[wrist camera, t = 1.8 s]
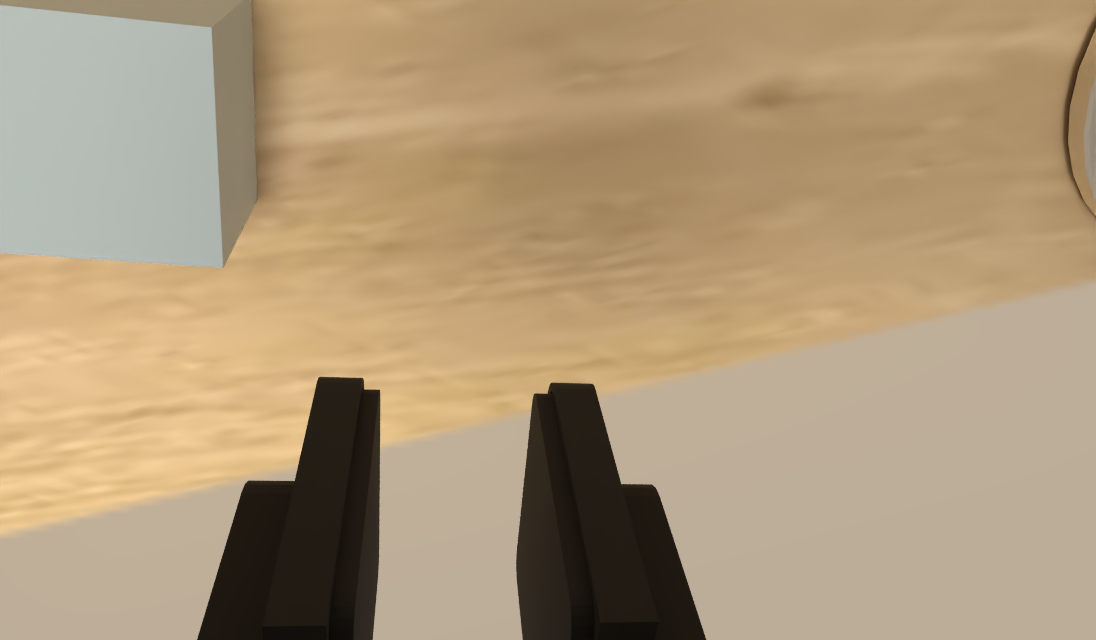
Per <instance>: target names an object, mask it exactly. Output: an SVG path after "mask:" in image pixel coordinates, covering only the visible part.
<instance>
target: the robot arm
mask: <svg viewBox="0 0 1096 640" xmlns="http://www.w3.org/2000/svg"><path fill="white" fill-rule="evenodd" d="M1068 145H1069V152H1070V158H1071V165H1072V171H1073V176H1074V178H1075V180H1076V183H1077V185H1078V188H1079V190H1080V192H1081V195H1082V197H1083V200H1084V202H1085V203H1086V204H1087V206H1088V207H1089V208H1090V210H1091V211H1092V212H1093V214H1094V215H1095V216H1096V29H1095V32H1094V34H1093V36H1092V39H1091V41H1090V44H1089V46H1088V48H1087V51H1086V53H1085V56H1084V58H1083V60H1082V63H1081V65H1080V68H1079V71H1078V75H1077V80H1076V84H1075V88H1074V92H1073V96H1072V100H1071V105H1070V116H1069V134H1068ZM379 479H380V390H364V380H363V378H340V377H319V378H318V381H317V385H316V389H315V394H314V398H313V403H312V407H311V412H310V416H309V420H308V425H307V429H306V434H305V438H304V443H303V447H302V451H301V456H300V460H299V465H298V469H297V474H296V478H295V481H248V482H247V483H246V484H245V485H244V488H243V491H242V493H241V496H240V500H239V503H238V506H237V510H236V513H235V516H234V520H233V523H232V526H231V530H230V533H229V536H228V539H227V543H226V546H225V550H224V553H223V556H222V559H221V562H220V566H219V569H218V572H217V576H216V579H215V582H214V586H213V589H212V593H211V596H210V599H209V602H208V606H207V609H206V612H205V616H204V619H203V622H202V626H201V629H200V632H199V635H198V639H197V640H372V639H373V628H374V616H375V604H376V593H377V582H378V581H377V580H378V566H379V490H380V487H379V485H380V480H379ZM516 561H517V562H516V569H517V570H516V571H517V585H518V596H519V606H520V616H521V626H522V635H523V640H706V638H705V635H704V632H703V628H702V626H701V623H700V619H699V616H698V613H697V610H696V607H695V604H694V601H693V598H692V595H691V592H690V588H689V585H688V582H687V579H686V576H685V573H684V570H683V567H682V564H681V561H680V558H679V555H678V552H677V549H676V546H675V543H674V539H673V536H672V533H671V530H670V527H669V524H668V521H667V518H666V515H665V511H664V509H663V505H662V502H661V499H660V496H659V494H658V492H657V490H656V488H655V487H654V486H653V485H643V484H641V485H640V484H639V485H638V484H632V485H631V484H621V482H620V478H619V474H618V471H617V467H616V463H615V460H614V456H613V452H612V449H611V445H610V441H609V438H608V434H607V431H606V427H605V423H604V419H603V416H602V412H601V408H600V405H599V401H598V397H597V394H596V390H595V387H594V385H593V384H579V383H551V384H550V386H549V390H548V394H534V396H533V402H532V411H531V420H530V430H529V440H528V450H527V459H526V468H525V478H524V487H523V498H522V507H521V517H520V526H519V535H518V545H517V560H516Z"/></svg>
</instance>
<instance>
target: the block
mask: <svg viewBox="0 0 1096 640" xmlns="http://www.w3.org/2000/svg"><path fill="white" fill-rule="evenodd" d="M256 201H257V174H256V138H255V101H254V65H253V28H252V0H0V253H7V254H22V255H37V256H51V257H66V258H81V259H95V260H110V261H125V262H140V263H154V264H169V265H184V266H198V267H213V268H223V267H224V265H225V263H226V261H227V259H228V257H229V255H230V253H231V251H232V249H233V247H234V245H235V243H236V241H237V239H238V237H239V235H240V233H241V231H242V229H243V227H244V225H245V223H246V221H247V219H248V217H249V215H250V213H251V211H252V209H253V207H254V205H255V203H256Z"/></svg>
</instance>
